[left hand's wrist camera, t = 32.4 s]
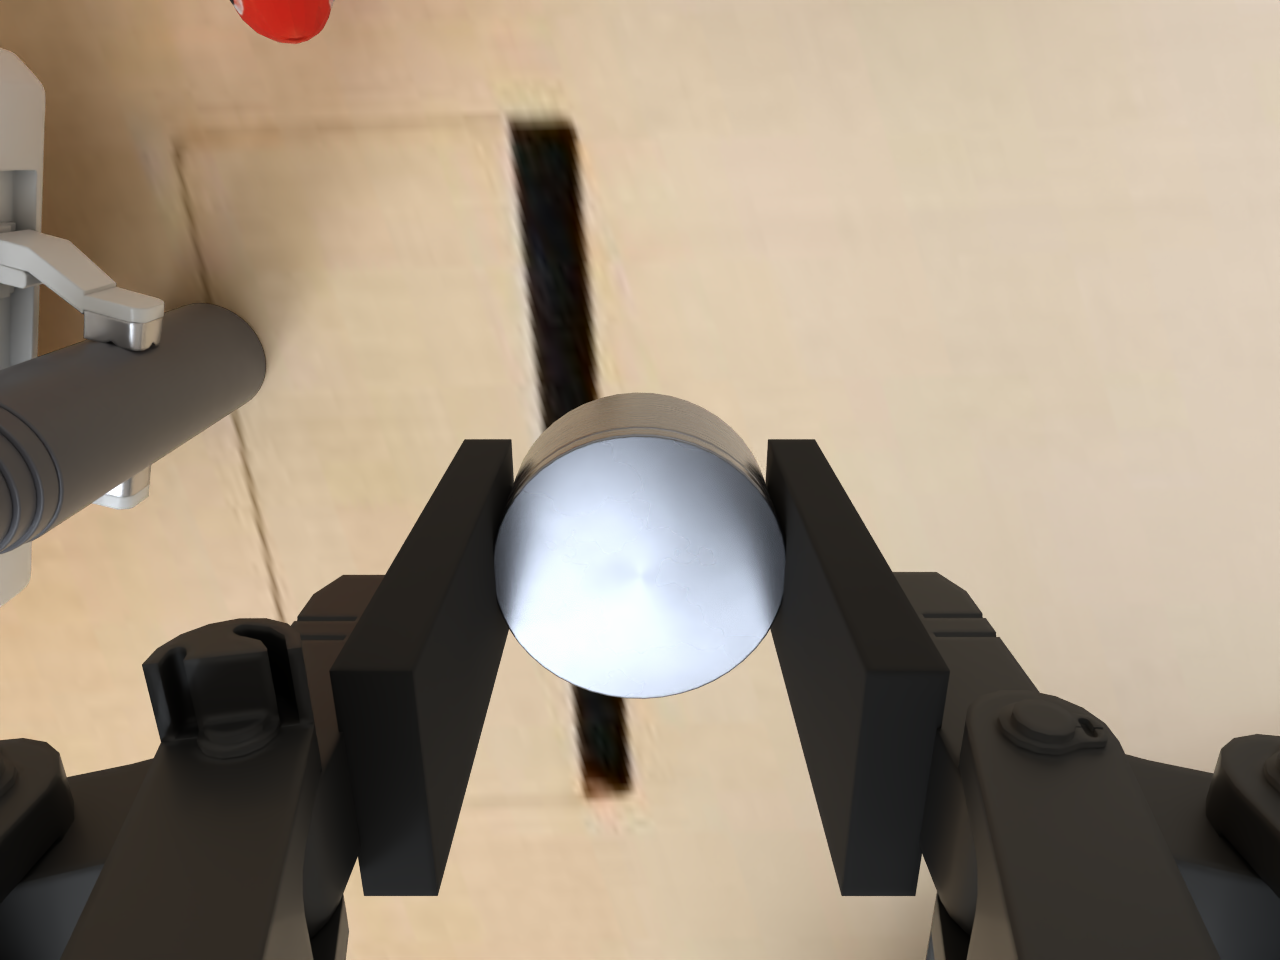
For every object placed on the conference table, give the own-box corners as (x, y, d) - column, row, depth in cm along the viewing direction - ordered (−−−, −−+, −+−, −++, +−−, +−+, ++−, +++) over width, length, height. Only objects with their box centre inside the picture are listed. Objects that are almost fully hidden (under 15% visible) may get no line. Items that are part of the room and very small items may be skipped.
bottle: (227, 285, 35) (-203, 429, 17) (287, 385, 36) (-52, 612, 19) (134, 329, 35) (-373, 512, 18) (196, 425, 37) (-215, 683, 19)
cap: (560, 652, 15) (548, 728, 13) (473, 434, 14) (445, 483, 12) (793, 591, 15) (817, 659, 13) (730, 358, 13) (746, 395, 11)
